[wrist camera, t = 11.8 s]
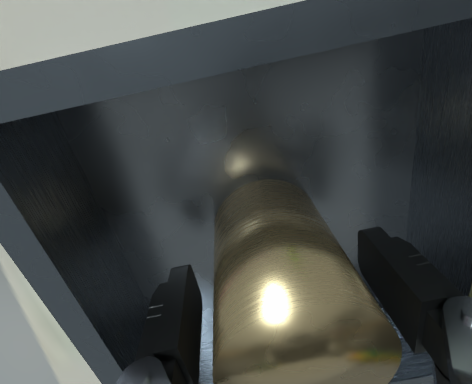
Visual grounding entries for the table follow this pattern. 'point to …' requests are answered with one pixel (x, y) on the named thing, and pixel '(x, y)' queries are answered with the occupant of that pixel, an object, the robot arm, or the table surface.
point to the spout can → (291, 297)
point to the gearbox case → (234, 154)
